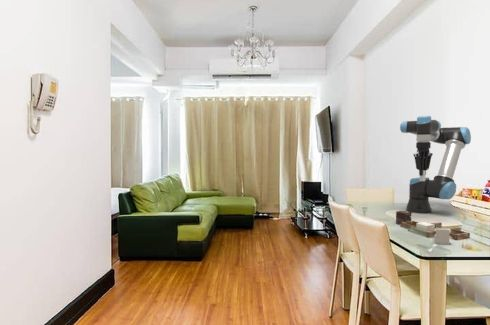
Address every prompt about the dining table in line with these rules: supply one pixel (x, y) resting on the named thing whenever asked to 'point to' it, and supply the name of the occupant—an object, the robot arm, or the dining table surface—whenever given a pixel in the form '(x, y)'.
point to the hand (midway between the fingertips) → (422, 180)
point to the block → (425, 226)
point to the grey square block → (442, 236)
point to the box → (402, 216)
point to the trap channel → (454, 233)
